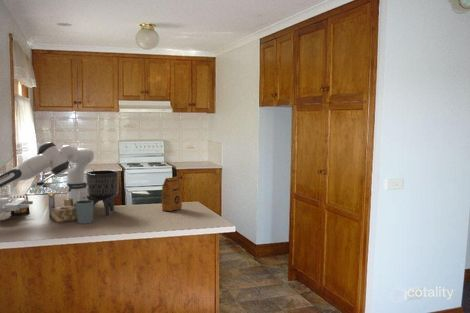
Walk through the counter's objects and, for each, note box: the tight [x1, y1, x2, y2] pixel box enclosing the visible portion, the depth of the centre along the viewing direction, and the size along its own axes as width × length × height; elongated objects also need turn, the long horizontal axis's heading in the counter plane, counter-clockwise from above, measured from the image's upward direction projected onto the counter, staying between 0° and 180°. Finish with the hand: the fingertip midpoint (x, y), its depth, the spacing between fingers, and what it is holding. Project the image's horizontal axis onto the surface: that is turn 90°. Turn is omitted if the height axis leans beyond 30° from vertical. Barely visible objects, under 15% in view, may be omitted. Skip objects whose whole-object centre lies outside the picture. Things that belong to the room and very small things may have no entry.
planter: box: [85, 169, 120, 217], centre depth 271 cm, size 20×20×26 cm
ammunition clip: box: [10, 194, 31, 217], centre depth 268 cm, size 11×2×12 cm, turn 132°
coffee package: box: [161, 176, 183, 212], centre depth 282 cm, size 10×12×22 cm
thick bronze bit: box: [63, 198, 75, 207], centre depth 267 cm, size 6×6×10 cm
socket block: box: [51, 205, 77, 224], centre depth 255 cm, size 11×11×7 cm
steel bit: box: [47, 193, 56, 219], centre depth 261 cm, size 4×4×14 cm
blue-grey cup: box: [74, 200, 94, 224], centre depth 250 cm, size 10×10×12 cm
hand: (30, 204), depth 258 cm, fingers open, 8 cm apart
